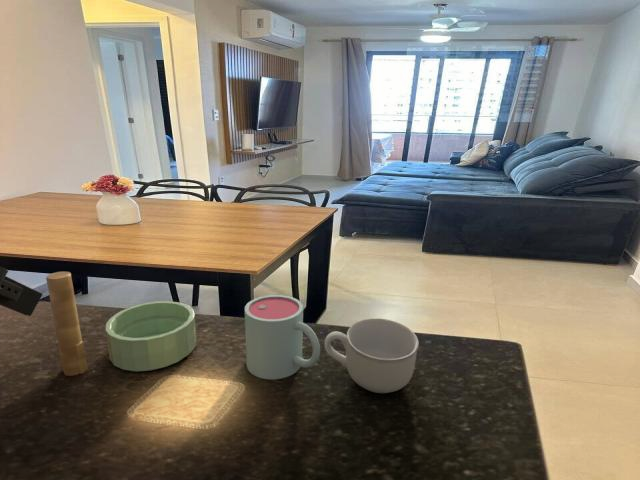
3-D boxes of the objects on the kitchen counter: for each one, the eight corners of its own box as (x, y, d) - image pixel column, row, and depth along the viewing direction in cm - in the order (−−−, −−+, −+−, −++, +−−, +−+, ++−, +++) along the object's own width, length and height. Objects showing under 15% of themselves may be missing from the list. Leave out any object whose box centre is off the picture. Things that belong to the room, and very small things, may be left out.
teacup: (417, 368, 63) (421, 325, 60) (409, 413, 53) (415, 362, 50) (335, 351, 67) (337, 310, 65) (315, 389, 57) (316, 342, 55)
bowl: (92, 358, 63) (86, 325, 61) (159, 323, 74) (156, 295, 73) (148, 384, 57) (144, 349, 55) (212, 342, 68) (211, 312, 67)
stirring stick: (57, 374, 59) (38, 277, 54) (73, 362, 61) (57, 270, 57) (77, 377, 58) (60, 280, 53) (92, 366, 61) (77, 272, 56)
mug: (234, 364, 62) (232, 308, 59) (273, 340, 69) (273, 290, 67) (298, 400, 54) (299, 338, 52) (335, 369, 62) (338, 314, 59)
